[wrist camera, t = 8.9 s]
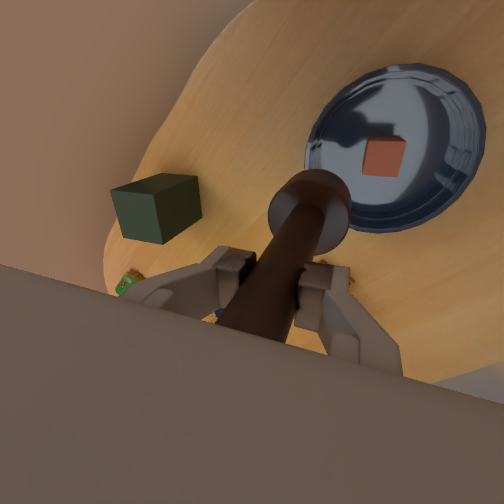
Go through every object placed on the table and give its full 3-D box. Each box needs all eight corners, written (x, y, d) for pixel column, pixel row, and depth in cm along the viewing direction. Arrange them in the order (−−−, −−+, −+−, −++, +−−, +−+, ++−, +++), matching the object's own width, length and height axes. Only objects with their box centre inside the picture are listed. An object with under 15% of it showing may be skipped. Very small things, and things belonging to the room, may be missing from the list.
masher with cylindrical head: (282, 166, 17) (104, 297, 5) (358, 170, 15) (343, 365, 4) (279, 231, 19) (150, 422, 7) (345, 240, 17) (311, 495, 6)
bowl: (319, 74, 33) (312, 69, 28) (494, 65, 27) (523, 57, 22) (306, 210, 42) (299, 223, 37) (436, 224, 36) (448, 242, 31)
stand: (160, 173, 49) (109, 190, 39) (197, 176, 46) (152, 194, 36) (167, 213, 53) (123, 237, 43) (202, 217, 50) (163, 245, 40)
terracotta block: (368, 137, 34) (368, 140, 30) (402, 137, 32) (406, 141, 29) (362, 168, 36) (362, 175, 32) (394, 170, 34) (397, 177, 31)
